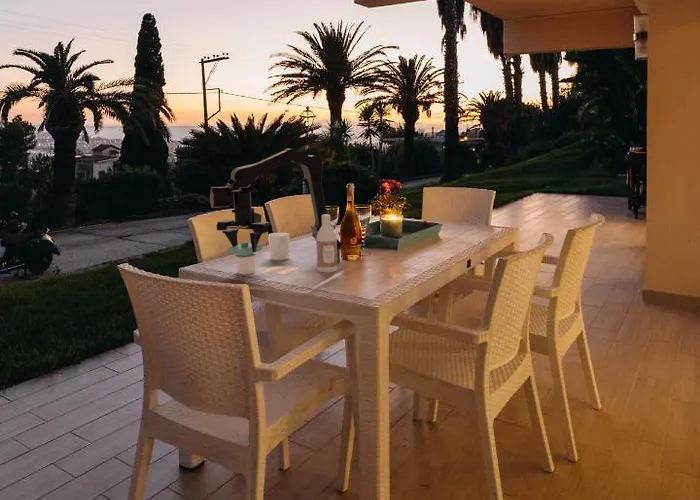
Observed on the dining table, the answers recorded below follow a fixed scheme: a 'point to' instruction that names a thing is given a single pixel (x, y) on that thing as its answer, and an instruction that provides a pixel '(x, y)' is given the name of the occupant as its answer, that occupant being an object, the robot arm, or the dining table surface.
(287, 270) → the mat
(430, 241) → the dining table surface
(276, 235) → the white cup
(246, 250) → the lid
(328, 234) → the bath foam
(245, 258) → the cream round container
